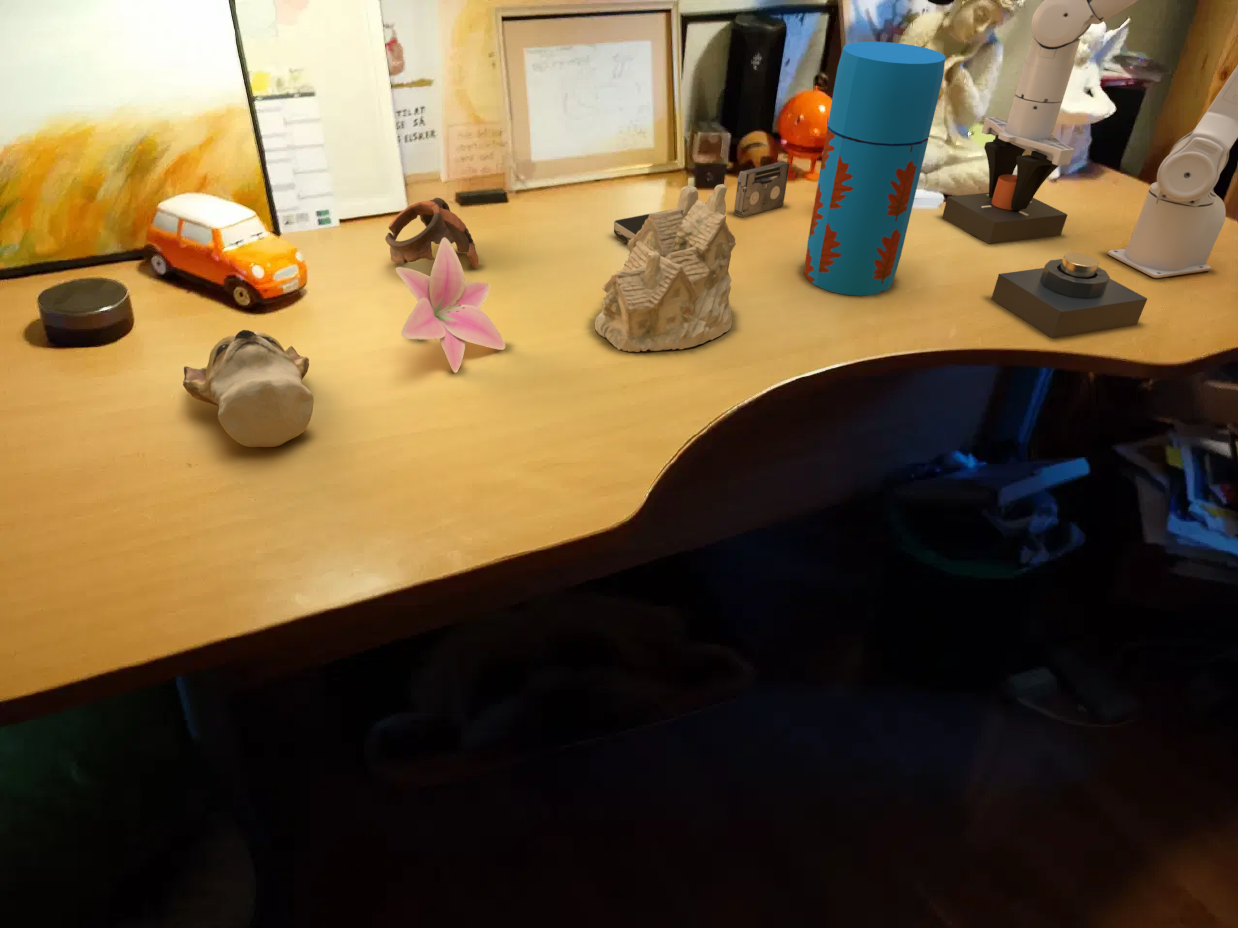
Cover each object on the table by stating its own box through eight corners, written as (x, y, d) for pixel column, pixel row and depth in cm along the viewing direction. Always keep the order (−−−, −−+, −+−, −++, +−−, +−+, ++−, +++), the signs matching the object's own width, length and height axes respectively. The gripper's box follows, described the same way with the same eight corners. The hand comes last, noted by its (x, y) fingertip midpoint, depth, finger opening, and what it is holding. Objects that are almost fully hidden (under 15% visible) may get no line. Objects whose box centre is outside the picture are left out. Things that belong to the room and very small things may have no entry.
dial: (985, 201, 123) (993, 173, 121) (1008, 198, 125) (1016, 171, 122) (1004, 211, 120) (1013, 183, 118) (1028, 208, 122) (1037, 180, 119)
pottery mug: (485, 283, 104) (446, 229, 98) (414, 312, 106) (372, 262, 100) (484, 219, 111) (449, 166, 105) (418, 248, 114) (380, 198, 108)
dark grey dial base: (1010, 210, 130) (1017, 188, 128) (1060, 236, 122) (1068, 213, 121) (941, 217, 126) (947, 195, 124) (988, 244, 119) (995, 221, 117)
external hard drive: (611, 236, 116) (612, 220, 115) (681, 222, 121) (683, 207, 120) (641, 255, 111) (642, 239, 110) (713, 239, 116) (714, 224, 115)
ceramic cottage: (688, 273, 107) (694, 146, 97) (756, 340, 95) (771, 204, 86) (564, 298, 102) (557, 168, 93) (619, 372, 90) (618, 232, 81)
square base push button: (1071, 287, 109) (1086, 248, 106) (1136, 324, 101) (1154, 283, 98) (990, 299, 105) (1003, 258, 102) (1051, 338, 97) (1067, 296, 94)
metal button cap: (1076, 266, 102) (1082, 251, 101) (1100, 279, 99) (1106, 264, 98) (1051, 269, 101) (1056, 254, 100) (1075, 282, 98) (1080, 267, 97)
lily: (386, 393, 85) (422, 324, 79) (353, 301, 90) (385, 229, 84) (496, 395, 92) (537, 332, 86) (460, 310, 97) (497, 244, 91)
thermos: (887, 262, 112) (937, 45, 98) (900, 299, 104) (957, 67, 89) (799, 255, 113) (835, 38, 98) (805, 292, 104) (846, 60, 90)
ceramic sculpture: (187, 379, 66) (160, 308, 77) (213, 478, 71) (184, 398, 82) (332, 350, 71) (287, 287, 82) (348, 444, 76) (303, 373, 87)
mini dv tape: (775, 203, 128) (781, 160, 125) (783, 206, 127) (789, 163, 124) (733, 214, 124) (739, 170, 121) (741, 217, 123) (747, 173, 120)
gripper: (975, 84, 119) (949, 187, 127) (1054, 114, 108) (1019, 224, 116) (1019, 82, 121) (990, 183, 129) (1100, 111, 110) (1063, 219, 118)
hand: (1007, 202), depth 122 cm, fingers closed on dial, 4 cm apart
